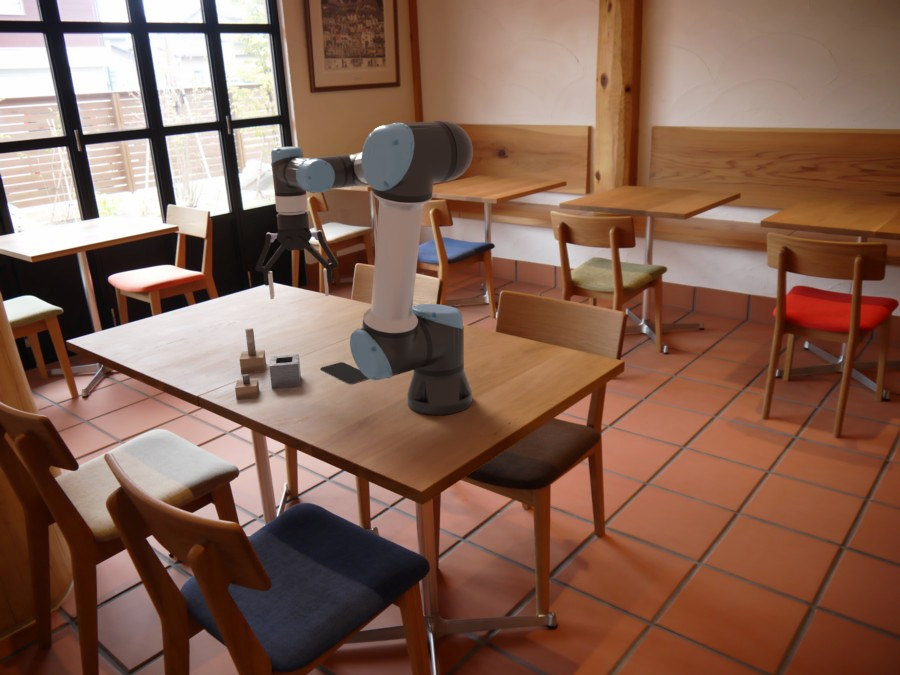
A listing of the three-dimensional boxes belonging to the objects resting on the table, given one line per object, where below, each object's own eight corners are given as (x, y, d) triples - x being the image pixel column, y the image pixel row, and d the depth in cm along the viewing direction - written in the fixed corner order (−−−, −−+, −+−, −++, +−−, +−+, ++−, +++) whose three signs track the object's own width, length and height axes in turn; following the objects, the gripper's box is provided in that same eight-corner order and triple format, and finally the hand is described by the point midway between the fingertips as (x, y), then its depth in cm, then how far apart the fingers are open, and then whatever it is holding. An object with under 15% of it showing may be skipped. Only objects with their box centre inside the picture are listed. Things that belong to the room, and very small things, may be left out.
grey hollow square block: (300, 386, 185) (298, 363, 183) (271, 388, 184) (269, 366, 182) (300, 376, 192) (298, 354, 190) (273, 378, 191) (270, 356, 189)
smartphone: (342, 361, 201) (373, 376, 190) (342, 363, 201) (373, 378, 190) (318, 368, 196) (349, 383, 185) (318, 370, 196) (349, 386, 185)
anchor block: (257, 397, 179) (255, 378, 177) (236, 399, 178) (234, 380, 177) (259, 389, 184) (257, 370, 182) (238, 391, 183) (236, 372, 181)
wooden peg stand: (264, 371, 195) (260, 331, 192) (241, 373, 194) (236, 333, 191) (266, 363, 201) (261, 325, 197) (243, 365, 200) (238, 326, 197)
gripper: (343, 207, 186) (349, 289, 193) (242, 212, 183) (251, 294, 190) (343, 212, 179) (349, 297, 186) (237, 216, 176) (247, 302, 183)
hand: (299, 296), depth 188 cm, fingers open, 13 cm apart
